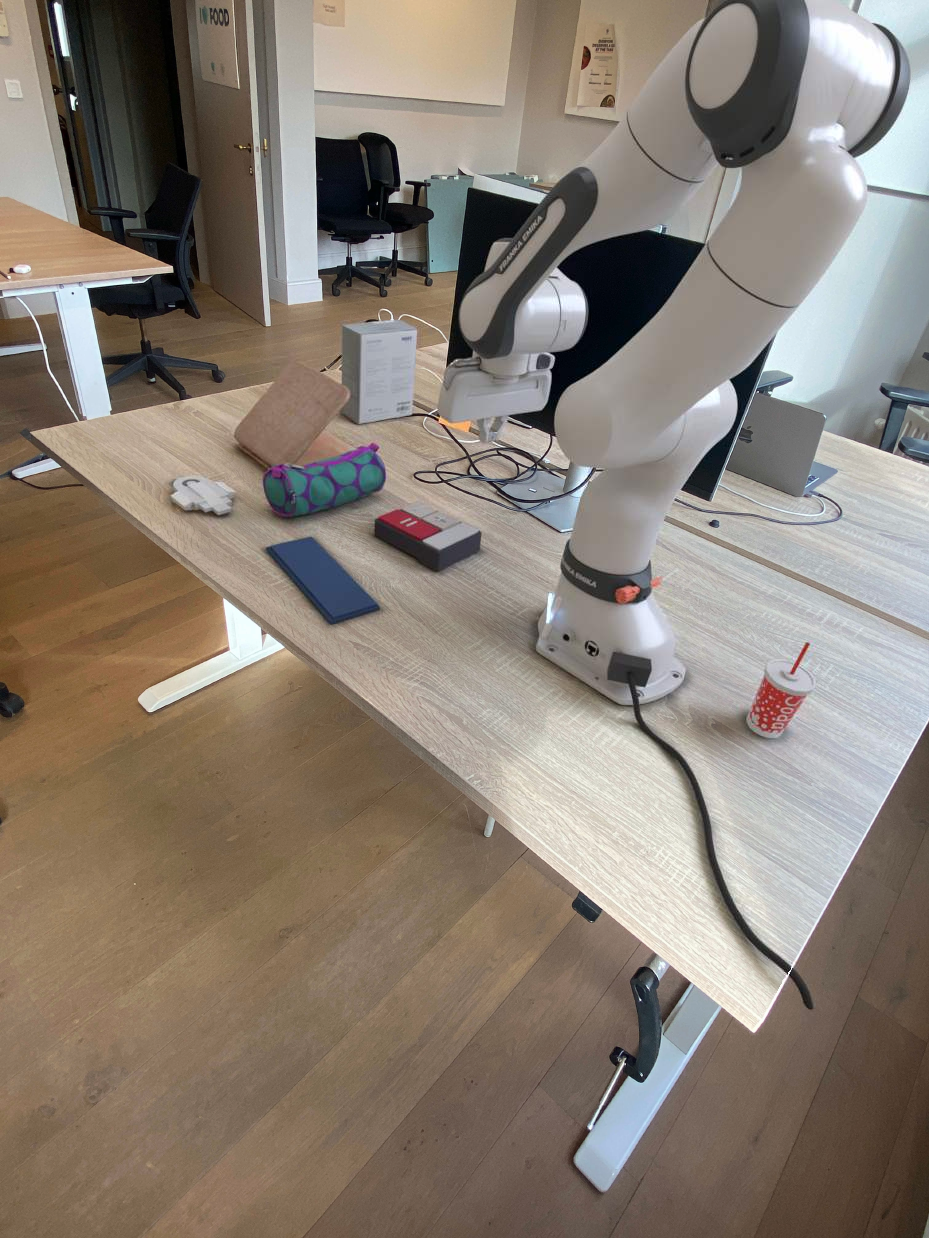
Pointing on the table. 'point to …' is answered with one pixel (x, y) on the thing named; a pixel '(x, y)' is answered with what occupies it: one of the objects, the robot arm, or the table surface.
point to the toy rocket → (202, 494)
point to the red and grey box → (428, 535)
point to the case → (295, 419)
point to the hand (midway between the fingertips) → (488, 440)
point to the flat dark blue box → (322, 580)
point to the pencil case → (324, 482)
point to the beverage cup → (780, 695)
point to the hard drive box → (378, 369)
